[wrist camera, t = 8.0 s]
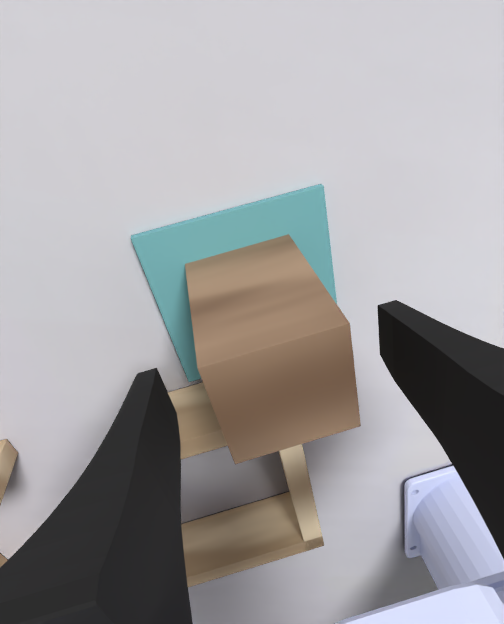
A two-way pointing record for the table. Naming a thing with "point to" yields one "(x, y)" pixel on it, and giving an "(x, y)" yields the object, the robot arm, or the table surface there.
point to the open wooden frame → (235, 522)
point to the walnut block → (271, 348)
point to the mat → (226, 237)
